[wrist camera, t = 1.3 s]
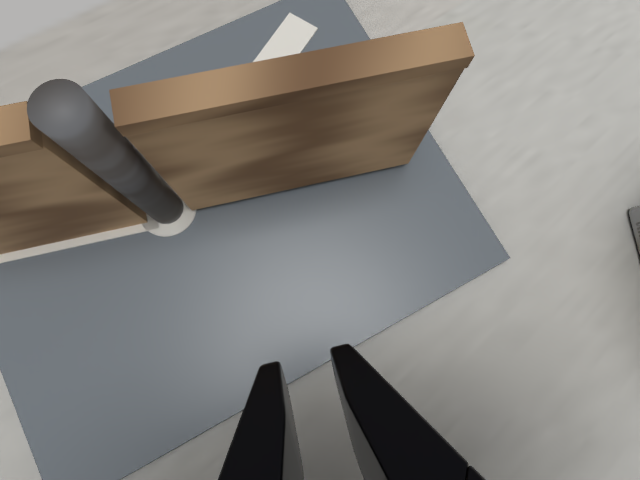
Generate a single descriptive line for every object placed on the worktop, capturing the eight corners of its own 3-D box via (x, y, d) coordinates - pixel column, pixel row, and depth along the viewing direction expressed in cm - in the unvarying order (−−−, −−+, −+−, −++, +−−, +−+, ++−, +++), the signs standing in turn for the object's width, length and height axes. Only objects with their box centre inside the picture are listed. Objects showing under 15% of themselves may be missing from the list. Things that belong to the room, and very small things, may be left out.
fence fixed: (188, 222, 21) (91, 126, 12) (-18, 268, 21) (-309, 204, 11) (183, 192, 22) (83, 73, 12) (-20, 235, 21) (-305, 146, 11)
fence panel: (192, 212, 21) (114, 126, 12) (187, 189, 21) (109, 89, 13) (408, 165, 22) (474, 55, 13) (402, 143, 22) (462, 22, 13)
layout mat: (506, 259, 22) (511, 257, 21) (61, 512, 18) (54, 516, 18) (330, -16, 25) (331, -23, 24) (-74, 160, 22) (-83, 156, 21)
